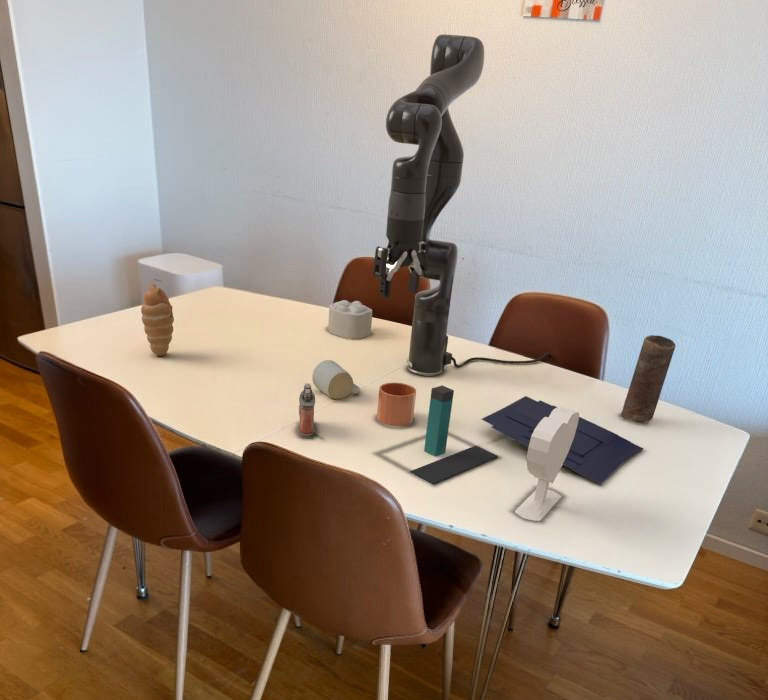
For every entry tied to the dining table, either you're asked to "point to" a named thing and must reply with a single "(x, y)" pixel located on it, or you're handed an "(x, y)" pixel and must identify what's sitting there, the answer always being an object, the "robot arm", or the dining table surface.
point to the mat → (454, 464)
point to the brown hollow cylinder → (648, 378)
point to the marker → (438, 420)
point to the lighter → (306, 412)
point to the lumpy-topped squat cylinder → (350, 319)
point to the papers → (590, 444)
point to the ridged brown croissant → (157, 320)
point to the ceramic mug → (333, 380)
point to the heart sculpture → (548, 460)
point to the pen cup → (396, 404)
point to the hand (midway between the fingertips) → (399, 294)
